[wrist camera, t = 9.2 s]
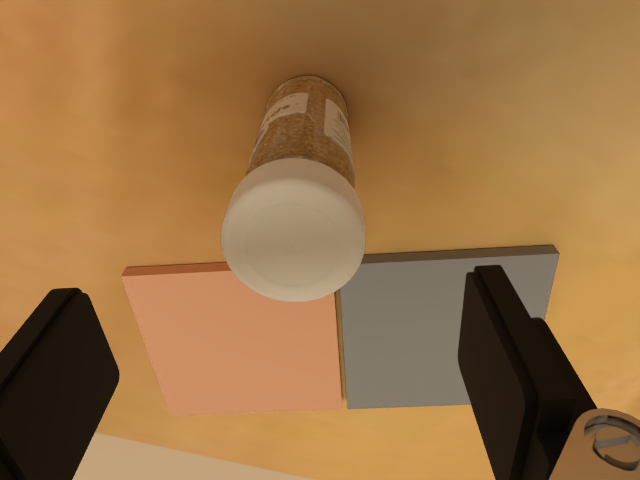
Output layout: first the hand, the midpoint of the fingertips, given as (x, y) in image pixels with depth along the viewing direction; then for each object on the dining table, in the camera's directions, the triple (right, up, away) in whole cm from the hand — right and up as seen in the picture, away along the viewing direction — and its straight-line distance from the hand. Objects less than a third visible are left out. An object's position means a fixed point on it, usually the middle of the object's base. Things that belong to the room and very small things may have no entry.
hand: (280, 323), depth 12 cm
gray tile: (+9, -4, +22) cm, 24 cm away
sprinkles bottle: (0, +9, +14) cm, 17 cm away
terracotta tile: (-5, -5, +23) cm, 24 cm away
